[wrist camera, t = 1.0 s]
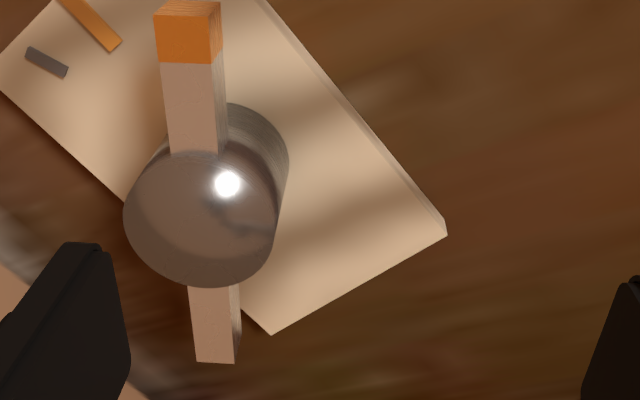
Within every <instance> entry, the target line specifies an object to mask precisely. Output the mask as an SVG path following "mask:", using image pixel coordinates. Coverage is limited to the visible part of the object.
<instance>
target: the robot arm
mask: <svg viewBox="0 0 640 400" xmlns="http://www.w3.org/2000/svg"><path fill="white" fill-rule="evenodd" d="M130 366H131V353H130V348H129V343H128V338H127V333H126V328H125V323H124V318H123V313H122V308H121V303H120V298H119V293H118V288H117V283H116V278H115V273H114V268H113V263H112V258H111V255H110V254H109V253H108V252H102V248H101V247H100V245H99V244H96V243H81V242H65V243H64V244H63V245H62V246H61V247H60V248H59V249H58V251H57V252H56V253H55V255H54V256H53V257H52V259H51V260H50V262H49V263H48V264H47V266H46V267H45V268H44V270H43V271H42V272H41V274H40V275H39V276H38V278H37V279H36V280H35V282H34V283H33V284H32V286H31V287H30V288H29V290H28V291H27V293H26V294H25V295H24V297H23V298H22V299H21V301H20V302H19V303H18V305H17V306H16V307H15V309H14V310H13V311H12V312H10V313H8V314H7V315H6V316H5V317H4V318H3V319H2V320H1V322H0V400H117V399H118V397H119V395H120V393H121V390H122V388H123V386H124V384H125V381H126V379H127V377H128V374H129V371H130ZM581 400H640V275H635V276H633V277H632V278H631V279H630V280H629V282H628V283H622V284H621V285H620V286H619V288H618V290H617V292H616V295H615V298H614V300H613V303H612V306H611V308H610V311H609V314H608V316H607V319H606V322H605V324H604V327H603V330H602V332H601V335H600V338H599V340H598V343H597V346H596V348H595V351H594V354H593V356H592V359H591V362H590V364H589V367H588V370H587V372H586V375H585V378H584V380H583V383H582V386H581Z"/></svg>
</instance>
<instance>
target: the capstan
mask: <svg viewBox="0 0 640 400" xmlns="http://www.w3.org/2000/svg"><path fill="white" fill-rule="evenodd" d="M153 23H154V31H155V39H156V47H157V55H158V62H159V65H160V73H161V81H162V89H163V97H164V105H165V113H166V120H167V128H168V133H167V134H166V136H165V137H164V139H163V140H162V142H161V143H160V145H159V146H158V148H157V150H156V151H155V153H154V154H153V156H152V157H151V159H150V160H149V162H148V163H147V165H146V166H145V168H144V169H143V171H142V173H141V174H140V176H139V177H138V179H137V180H136V182H135V183H134V185H133V186H132V188H131V190H130V191H129V193H128V195H127V197H126V200H125V203H124V207H123V225H124V229H125V233H126V236H127V238H128V241H129V243H130V244H131V246H132V248H133V250H134V251H135V252H136V253H137V255H138V256H139V257H140V258H141V259H142V260H143V261H144V262H145V263H146V264H147V265H148V266H149V267H150V268H152V269H153V270H154V271H156V272H157V273H159V274H160V275H162V276H164V277H166V278H168V279H170V280H172V281H175V282H177V283H180V284H183V285H187V288H188V296H189V303H190V311H191V319H192V327H193V335H194V343H195V351H196V359H197V362H211V363H227V364H235V360H236V356H237V351H238V347H239V343H240V339H241V335H242V329H241V314H240V299H239V284H238V283H240V282H242V281H244V280H246V279H248V278H250V277H251V276H253V275H254V274H255V273H256V272H257V271H259V270H260V269H261V267H262V266H263V265H264V264H265V262H266V261H267V259H268V257H269V255H270V253H271V250H272V247H273V242H274V238H275V233H276V228H277V224H278V219H279V214H280V210H281V205H282V200H283V196H284V191H285V187H286V182H287V177H288V173H289V155H288V151H287V147H286V145H285V142H284V140H283V138H282V137H281V135H280V133H279V132H278V131H277V129H276V128H275V127H274V126H273V125H272V124H271V123H270V122H269V121H268V120H267V119H266V118H265V117H263V116H262V115H260V114H259V113H257V112H256V111H254V110H252V109H250V108H247V107H245V106H242V105H239V104H234V103H228V102H226V88H225V73H224V58H223V33H222V18H221V3H220V2H212V1H184V0H169V1H168V2H167V3H165V4H164V5H163V6H162V7H161V8H160V9H158V10H157V11H156V12H155V13H154V14H153Z"/></svg>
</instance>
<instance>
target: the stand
mask: <svg viewBox="0 0 640 400" xmlns="http://www.w3.org/2000/svg"><path fill="white" fill-rule="evenodd" d="M168 1H169V0H52V1H51V2H50V3H49V4H48V5H47V6H46V7H45V8H44V9H43V10H42V11H41V12H40V13H39V15H38V16H37V17H36V18H35V19H34V20H33V21H32V22H31V23H30V24H29V25H28V26H27V27H26V28H25V29H24V30H23V31H22V32H21V33H20V34H19V35H18V36H17V37H16V38H15V39H14V40H13V41H12V42H11V44H10V45H9V46H8V47H7V48H6V49H5V50H4V51H3V52H2V53H1V54H0V90H1V91H2V92H3V93H4V94H5V95H6V96H7V97H9V98H10V99H11V100H12V101H13V102H14V103H15V104H16V105H17V106H18V107H20V108H21V109H22V110H23V111H24V112H25V113H26V114H27V115H28V116H29V117H31V118H32V119H33V120H34V121H35V122H36V123H37V124H38V125H39V126H40V127H42V128H43V129H44V130H45V131H46V132H47V133H48V134H49V135H50V136H52V137H53V138H54V139H55V140H56V141H57V142H58V143H59V144H60V145H61V146H63V147H64V148H65V149H66V150H67V151H68V152H69V153H70V154H71V155H72V156H74V157H75V158H76V159H77V160H78V161H79V162H80V163H81V164H82V165H83V166H85V167H86V168H87V169H88V170H89V171H90V172H91V173H92V174H93V175H95V176H96V177H97V178H98V179H99V180H100V181H101V182H102V183H103V184H104V185H106V186H107V187H108V188H109V189H110V190H111V191H112V192H113V193H114V194H115V195H117V196H118V197H119V198H120V199H121V200H122V201H123V202H124V203H125V200H126V197H127V195H128V193H129V191H130V190H131V188H132V186H133V185H134V183H135V182H136V180H137V179H138V177H139V176H140V174H141V173H142V171H143V169H144V168H145V166H146V165H147V163H148V162H149V160H150V159H151V157H152V156H153V154H154V153H155V151H156V150H157V148H158V146H159V145H160V143H161V142H162V140H163V139H164V137H165V136H166V134H167V133H168V128H167V120H166V113H165V105H164V97H163V89H162V81H161V73H160V65H159V62H158V55H157V47H156V39H155V31H154V23H153V14H154V13H155V12H156V11H157V10H158V9H160V8H161V7H162V6H163V5H164V4H165V3H167V2H168ZM184 1H212V2H220V3H221V18H222V33H223V58H224V73H225V88H226V102H228V103H234V104H239V105H242V106H245V107H247V108H250V109H252V110H254V111H256V112H257V113H259V114H260V115H262V116H263V117H265V118H266V119H267V120H268V121H269V122H270V123H271V124H272V125H273V126H274V127H275V128H276V129H277V131H278V132H279V133H280V135H281V137H282V138H283V140H284V142H285V145H286V147H287V151H288V155H289V173H288V177H287V182H286V187H285V191H284V196H283V200H282V205H281V210H280V214H279V219H278V224H277V228H276V233H275V238H274V242H273V247H272V250H271V253H270V255H269V257H268V259H267V261H266V262H265V264H264V265H263V266H262V267H261V269H260V270H259V271H257V272H256V273H255V274H254V275H253V276H251V277H250V278H248V279H246V280H244V281H242V282H240V283H238V284H239V299H240V308H241V309H242V310H243V311H244V312H246V313H247V314H248V315H249V316H250V317H251V318H252V319H253V320H254V321H255V322H257V323H258V324H259V325H260V326H261V327H262V328H263V329H264V330H265V331H266V332H268V333H269V334H270V335H273V334H274V333H276V332H278V331H280V330H282V329H283V328H285V327H287V326H289V325H290V324H292V323H294V322H296V321H297V320H299V319H301V318H303V317H305V316H306V315H308V314H310V313H312V312H313V311H315V310H317V309H319V308H320V307H322V306H324V305H326V304H327V303H329V302H331V301H333V300H335V299H336V298H338V297H340V296H342V295H343V294H345V293H347V292H349V291H350V290H352V289H354V288H356V287H357V286H359V285H361V284H363V283H365V282H366V281H368V280H370V279H372V278H373V277H375V276H377V275H379V274H380V273H382V272H384V271H386V270H387V269H389V268H391V267H393V266H395V265H396V264H398V263H400V262H402V261H403V260H405V259H407V258H409V257H410V256H412V255H414V254H416V253H417V252H419V251H421V250H423V249H425V248H426V247H428V246H430V245H432V244H433V243H435V242H437V241H439V240H440V239H442V238H444V237H446V236H447V230H446V225H445V221H444V218H443V217H442V216H441V215H440V213H439V212H438V211H437V210H436V208H435V207H434V206H433V205H432V204H431V202H430V201H429V200H428V199H427V197H426V196H425V195H424V194H423V192H422V191H421V190H420V189H419V188H418V186H417V185H416V184H415V183H414V181H413V180H412V179H411V178H410V176H409V175H408V174H407V173H406V172H405V170H404V169H403V168H402V167H401V165H400V164H399V163H398V162H397V161H396V159H395V158H394V157H393V156H392V154H391V153H390V152H389V151H388V149H387V148H386V147H385V146H384V145H383V143H382V142H381V141H380V140H379V138H378V137H377V136H376V135H375V133H374V132H373V131H372V130H371V129H370V127H369V126H368V125H367V124H366V122H365V121H364V120H363V119H362V117H361V116H360V115H359V114H358V113H357V111H356V110H355V109H354V108H353V106H352V105H351V104H350V103H349V102H348V100H347V99H346V98H345V97H344V95H343V94H342V93H341V92H340V90H339V89H338V88H337V87H336V86H335V84H334V83H333V82H332V81H331V79H330V78H329V77H328V76H327V74H326V73H325V72H324V71H323V70H322V68H321V67H320V66H319V65H318V63H317V62H316V61H315V60H314V59H313V57H312V56H311V55H310V54H309V52H308V51H307V50H306V49H305V47H304V46H303V45H302V44H301V43H300V41H299V40H298V39H297V38H296V36H295V35H294V34H293V33H292V31H291V30H290V29H289V28H288V27H287V25H286V24H285V23H284V22H283V20H282V19H281V18H280V17H279V15H278V14H277V13H276V12H275V11H274V9H273V8H272V7H271V6H270V4H269V3H268V2H267V1H266V0H184Z"/></svg>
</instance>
